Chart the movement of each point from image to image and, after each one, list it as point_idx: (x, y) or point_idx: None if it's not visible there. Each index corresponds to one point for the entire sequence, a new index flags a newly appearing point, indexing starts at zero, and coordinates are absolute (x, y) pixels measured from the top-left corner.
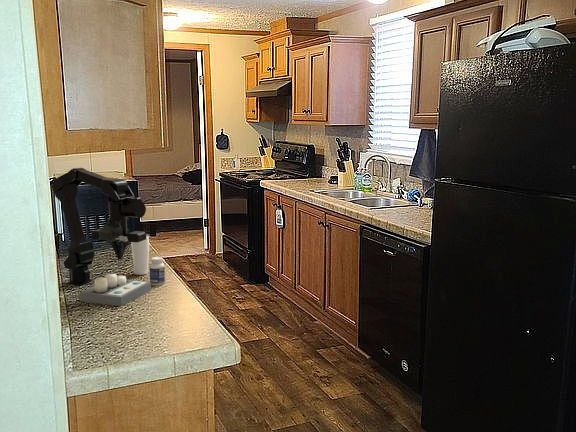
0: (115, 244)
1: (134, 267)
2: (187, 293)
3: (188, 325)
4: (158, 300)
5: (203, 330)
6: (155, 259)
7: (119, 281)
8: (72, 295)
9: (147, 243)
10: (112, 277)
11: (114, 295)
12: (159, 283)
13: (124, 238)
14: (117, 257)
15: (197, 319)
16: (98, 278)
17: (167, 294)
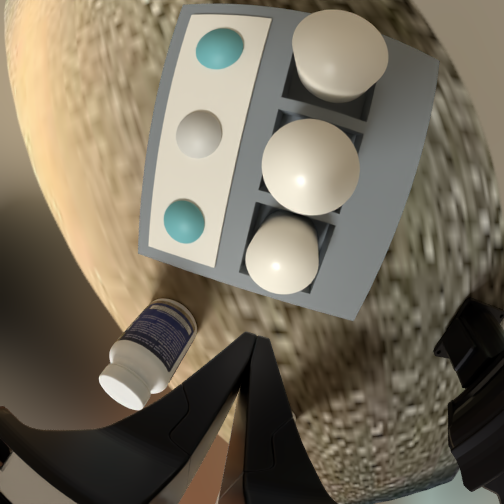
0: (240, 499)
1: None
2: (55, 213)
3: (34, 7)
4: (95, 121)
5: (20, 7)
6: (110, 376)
7: (277, 223)
8: (478, 160)
9: (218, 497)
10: (281, 127)
11: (225, 14)
12: (151, 302)
13: (22, 499)
14: (269, 351)
15: (21, 40)
16: (374, 76)
17: (91, 194)
